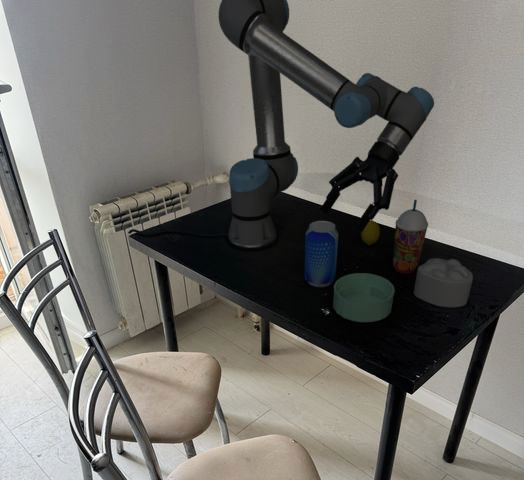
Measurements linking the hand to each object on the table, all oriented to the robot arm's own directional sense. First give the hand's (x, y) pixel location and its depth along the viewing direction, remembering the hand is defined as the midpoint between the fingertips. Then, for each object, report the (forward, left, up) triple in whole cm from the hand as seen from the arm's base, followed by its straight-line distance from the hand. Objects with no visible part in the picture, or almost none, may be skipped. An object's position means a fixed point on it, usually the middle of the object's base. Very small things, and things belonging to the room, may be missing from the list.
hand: (340, 220), depth 130 cm
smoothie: (+19, +2, -16) cm, 25 cm away
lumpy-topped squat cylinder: (+26, -12, -16) cm, 33 cm away
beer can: (-5, -4, -16) cm, 17 cm away
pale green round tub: (+5, -17, -16) cm, 24 cm away
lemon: (+11, +17, -16) cm, 26 cm away
